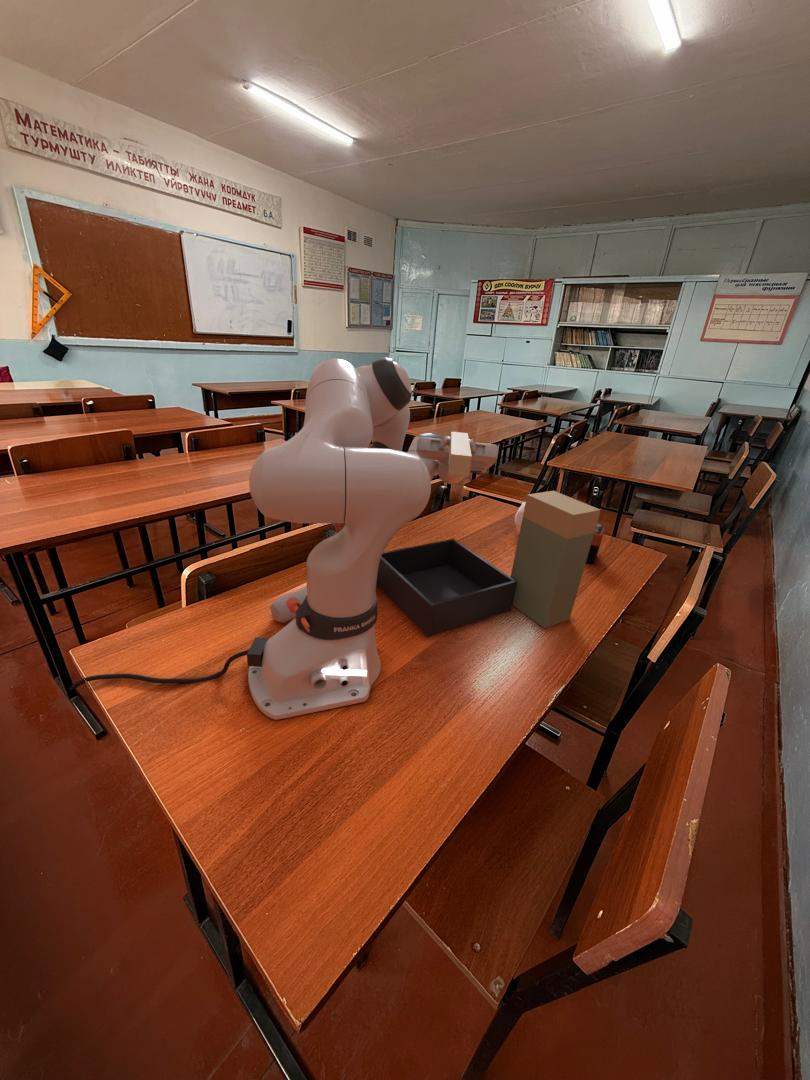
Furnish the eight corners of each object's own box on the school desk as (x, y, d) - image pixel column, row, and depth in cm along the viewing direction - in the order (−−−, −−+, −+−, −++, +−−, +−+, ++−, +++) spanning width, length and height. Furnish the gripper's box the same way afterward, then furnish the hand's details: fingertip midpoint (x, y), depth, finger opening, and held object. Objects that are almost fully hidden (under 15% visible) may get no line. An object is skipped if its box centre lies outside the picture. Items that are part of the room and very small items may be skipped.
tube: (281, 615, 83) (378, 573, 100) (266, 596, 85) (364, 559, 102) (278, 632, 86) (372, 589, 103) (264, 613, 89) (359, 574, 105)
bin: (427, 637, 87) (431, 605, 83) (373, 581, 105) (375, 553, 101) (511, 610, 98) (517, 581, 94) (449, 564, 116) (453, 538, 112)
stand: (544, 628, 92) (573, 514, 81) (505, 600, 101) (527, 494, 90) (569, 619, 96) (600, 509, 85) (530, 592, 105) (553, 490, 94)
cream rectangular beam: (448, 474, 84) (450, 454, 83) (449, 447, 106) (451, 431, 104) (468, 476, 84) (471, 456, 82) (465, 449, 106) (467, 433, 104)
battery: (597, 556, 127) (606, 524, 123) (593, 564, 122) (602, 532, 117) (581, 551, 129) (590, 520, 125) (577, 560, 123) (586, 528, 119)
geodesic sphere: (557, 541, 120) (570, 493, 122) (506, 529, 125) (520, 483, 127) (556, 554, 133) (568, 511, 136) (510, 542, 139) (522, 501, 141)
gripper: (417, 442, 117) (416, 423, 103) (494, 450, 116) (503, 432, 102) (414, 465, 117) (413, 449, 103) (491, 473, 115) (500, 458, 102)
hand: (459, 440), depth 103 cm, fingers closed on cream rectangular beam, 4 cm apart
